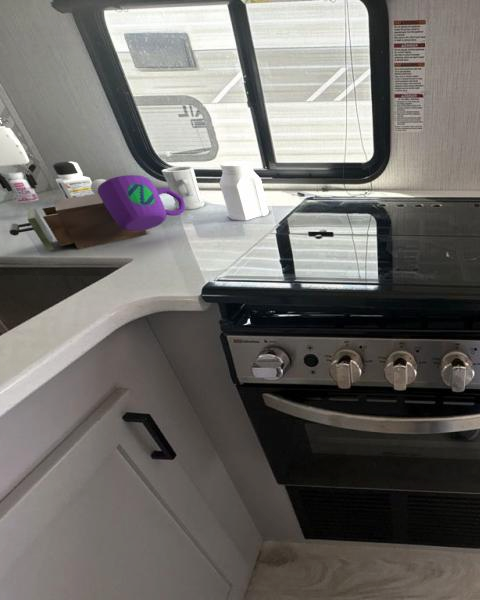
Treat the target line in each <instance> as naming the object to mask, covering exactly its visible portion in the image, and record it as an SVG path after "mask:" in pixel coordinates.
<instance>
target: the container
mask: <svg viewBox="0 0 480 600" xmlns="http://www.w3.org/2000/svg"><path fill="white" fill-rule="evenodd" d="M52 168H53V169H54V171H55V173H56V175H57V177H58V178H56V179H55V182H56V184H57V186H58V187H59V190H60V192H61V193H62V195H63V197H64V199H67V198H73V197H80V196H87V195H93V194H94V193H93V192H92V190H91V184H92V182H93V181H92V180H91V177H89V176H85V175H83V174H84V173H83V171H82V169H81V167H80V165H79V163H78V162H76V161H60V162H55V163H53V165H52Z"/></svg>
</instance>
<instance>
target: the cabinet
mask: <svg viewBox="0 0 480 600" xmlns="http://www.w3.org/2000/svg"><path fill="white" fill-rule="evenodd" d="M53 203H54V206H55V208H56V212H57V214H58V215H59V217H60V219H61V221H62V222H63V224H64V226H65V227H66V229H67V231H68V233H69V234H70V236H71V238H72V240H73V241H74V243H73V244H74V245H75V247H76V248H77V249H78V250H79V249H85V248H89V247H92V246H93V247H95V246H98V245H102V244H107V243H112V242H116V241H117V242H118V241H121V240H125V239H126V240H127V239H129V238H134V237H138V236H139V237H140V236H144V235H147V234H148V233H147V230H141V231H129V230H125V229H123V228H121V227H120V226H119V225H118V224H117V223H116V222H115V220H114V219H113V218H112V216H111V215H110V213H109V211H108V210H107V208H106V206H105V205H104V203H103V201H102V199H101V198H100V196H99V194H93V195H87V196H80V197H73V198H67V199H66V198H60V199H54V200H53Z"/></svg>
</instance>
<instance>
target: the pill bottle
mask: <svg viewBox="0 0 480 600" xmlns="http://www.w3.org/2000/svg"><path fill="white" fill-rule="evenodd" d="M3 175H4V177H5V179H6V180H7V183H8V185H9V187H10V189H11V192H12V193H13V195H14V197H15V200H16V201H17V202H18V203H20V204H21V203H31V202H32V203H33V202H37V201H39V200H40V198H39V196H38V195H37V193H36V191H35V188H32V186H31V185H30V183H29V181H28V179H27V177H26V175H25V173H24V172H22V171H11V172H6V173H4V174H3Z"/></svg>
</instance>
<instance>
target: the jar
mask: <svg viewBox="0 0 480 600" xmlns="http://www.w3.org/2000/svg"><path fill="white" fill-rule="evenodd" d="M220 168H221V172H222V174H221V177H220V180H219V183H218V185H219V187H220V189H221V193H222V197H223V199H224V203H225V206H226V207H225V208H226V210H227V214H228V217H229V219H231V220H233V221H248V220H249V221H250V220H252V219H255V218H260V217H265V216H267V215H268V214H269V208H268V205H267V201H266V195H265V191H264V186H263V182H262V178H261V177H260V176H259V175H258V174H257V173H256V171H254V169H253V164H252V161H249V160H234V161H227V162H222V163H221V164H220Z"/></svg>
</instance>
